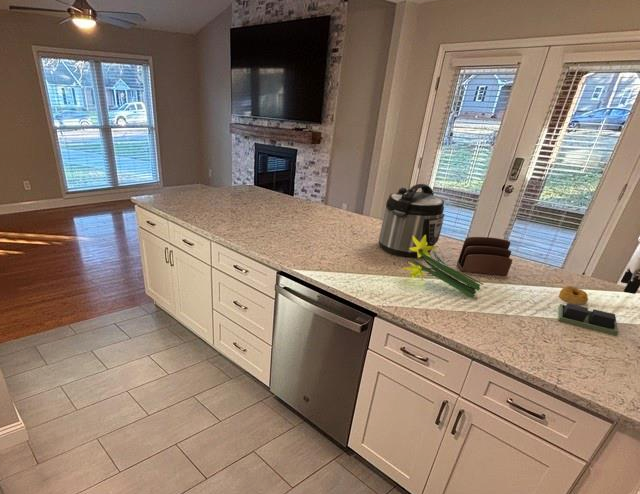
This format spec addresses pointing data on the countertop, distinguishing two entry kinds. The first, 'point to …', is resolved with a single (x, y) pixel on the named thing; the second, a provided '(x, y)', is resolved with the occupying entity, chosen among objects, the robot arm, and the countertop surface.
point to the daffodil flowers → (438, 273)
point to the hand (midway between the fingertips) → (627, 287)
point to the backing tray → (586, 322)
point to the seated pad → (575, 312)
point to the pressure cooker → (411, 220)
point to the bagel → (573, 295)
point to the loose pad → (602, 319)
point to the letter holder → (485, 256)
